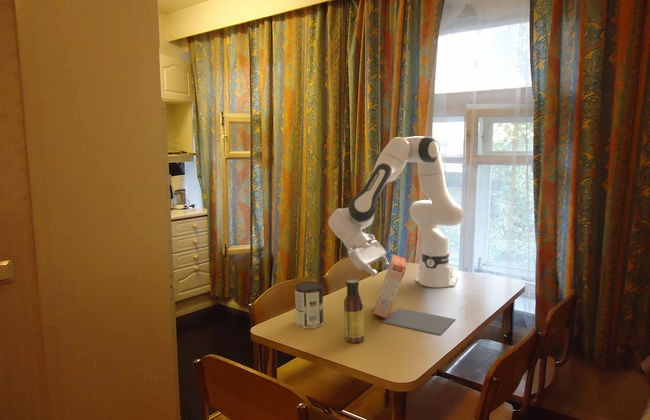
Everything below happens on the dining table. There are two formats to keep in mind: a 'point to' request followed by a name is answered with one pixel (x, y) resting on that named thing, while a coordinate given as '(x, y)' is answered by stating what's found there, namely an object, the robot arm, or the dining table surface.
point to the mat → (419, 321)
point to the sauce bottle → (353, 313)
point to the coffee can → (309, 304)
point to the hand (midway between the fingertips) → (382, 271)
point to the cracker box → (390, 286)
